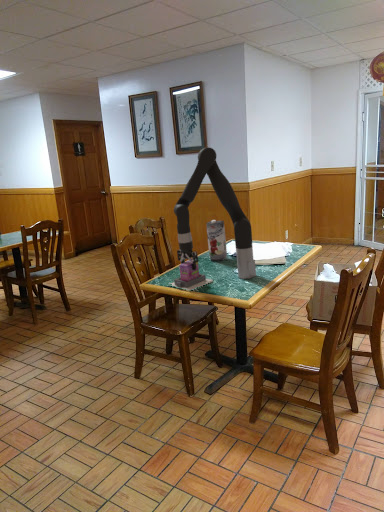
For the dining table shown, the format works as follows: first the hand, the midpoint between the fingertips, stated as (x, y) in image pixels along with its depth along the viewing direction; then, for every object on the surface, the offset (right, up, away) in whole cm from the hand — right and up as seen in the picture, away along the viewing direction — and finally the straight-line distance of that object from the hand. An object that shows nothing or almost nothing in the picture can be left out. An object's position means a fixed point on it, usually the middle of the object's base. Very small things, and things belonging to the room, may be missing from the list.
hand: (189, 268), depth 220 cm
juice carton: (+19, +5, +43) cm, 48 cm away
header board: (+1, -9, +3) cm, 9 cm away
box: (+1, -8, +2) cm, 8 cm away
